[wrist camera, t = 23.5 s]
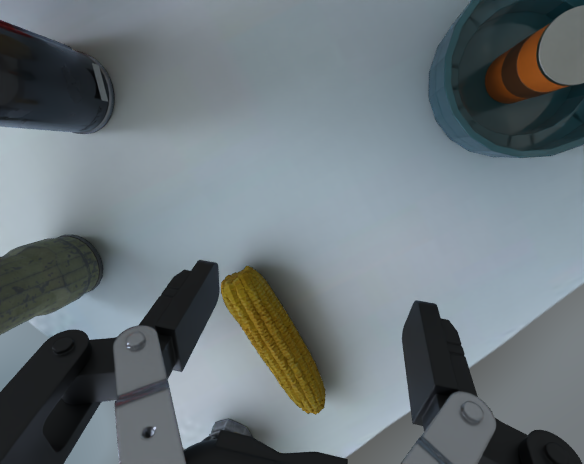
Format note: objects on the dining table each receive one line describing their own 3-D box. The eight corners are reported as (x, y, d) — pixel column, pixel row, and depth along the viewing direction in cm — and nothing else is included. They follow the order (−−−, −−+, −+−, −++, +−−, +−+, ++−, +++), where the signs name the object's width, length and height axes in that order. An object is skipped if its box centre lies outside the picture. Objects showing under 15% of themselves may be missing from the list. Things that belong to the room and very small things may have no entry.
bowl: (397, 72, 34) (407, 54, 28) (536, -49, 30) (584, -101, 24) (483, 186, 36) (512, 193, 29) (629, 84, 31) (699, 67, 25)
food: (224, 275, 43) (205, 293, 37) (259, 255, 42) (244, 271, 36) (307, 402, 46) (301, 438, 40) (343, 387, 44) (342, 422, 38)
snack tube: (473, 75, 33) (523, 43, 23) (520, 37, 31) (595, -13, 22) (502, 115, 33) (564, 100, 24) (550, 79, 32) (637, 48, 22)
